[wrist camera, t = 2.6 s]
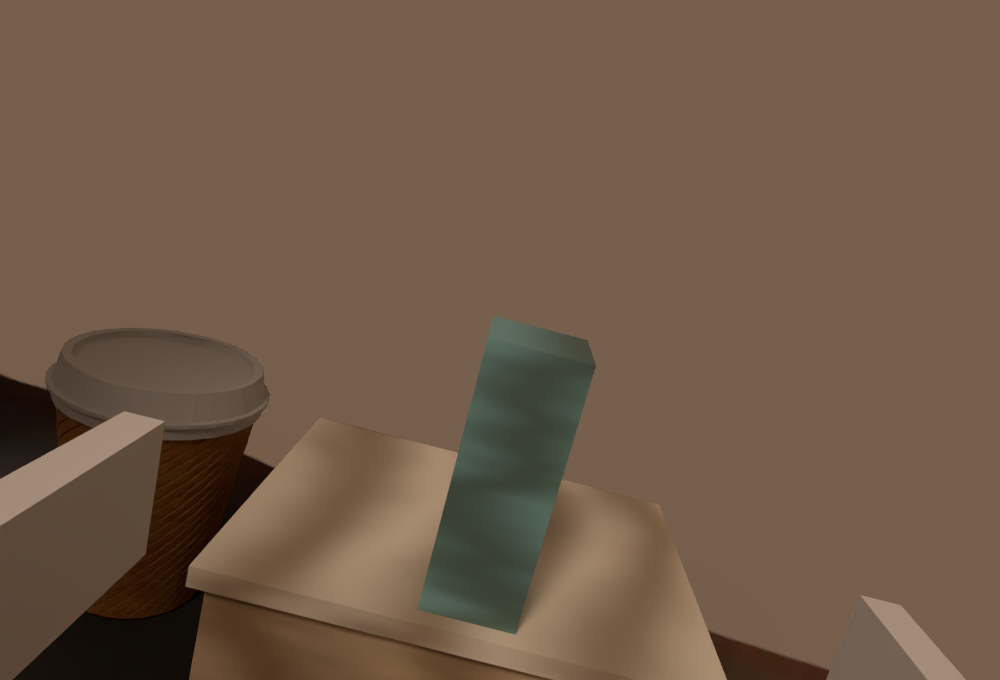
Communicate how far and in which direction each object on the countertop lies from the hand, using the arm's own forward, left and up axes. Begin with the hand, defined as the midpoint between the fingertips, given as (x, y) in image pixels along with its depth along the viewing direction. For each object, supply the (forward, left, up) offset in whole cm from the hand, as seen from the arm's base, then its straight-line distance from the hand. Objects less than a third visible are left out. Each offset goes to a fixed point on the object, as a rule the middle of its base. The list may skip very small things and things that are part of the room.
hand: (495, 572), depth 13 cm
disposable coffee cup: (-16, +20, -17) cm, 30 cm away
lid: (0, +17, -9) cm, 19 cm away
